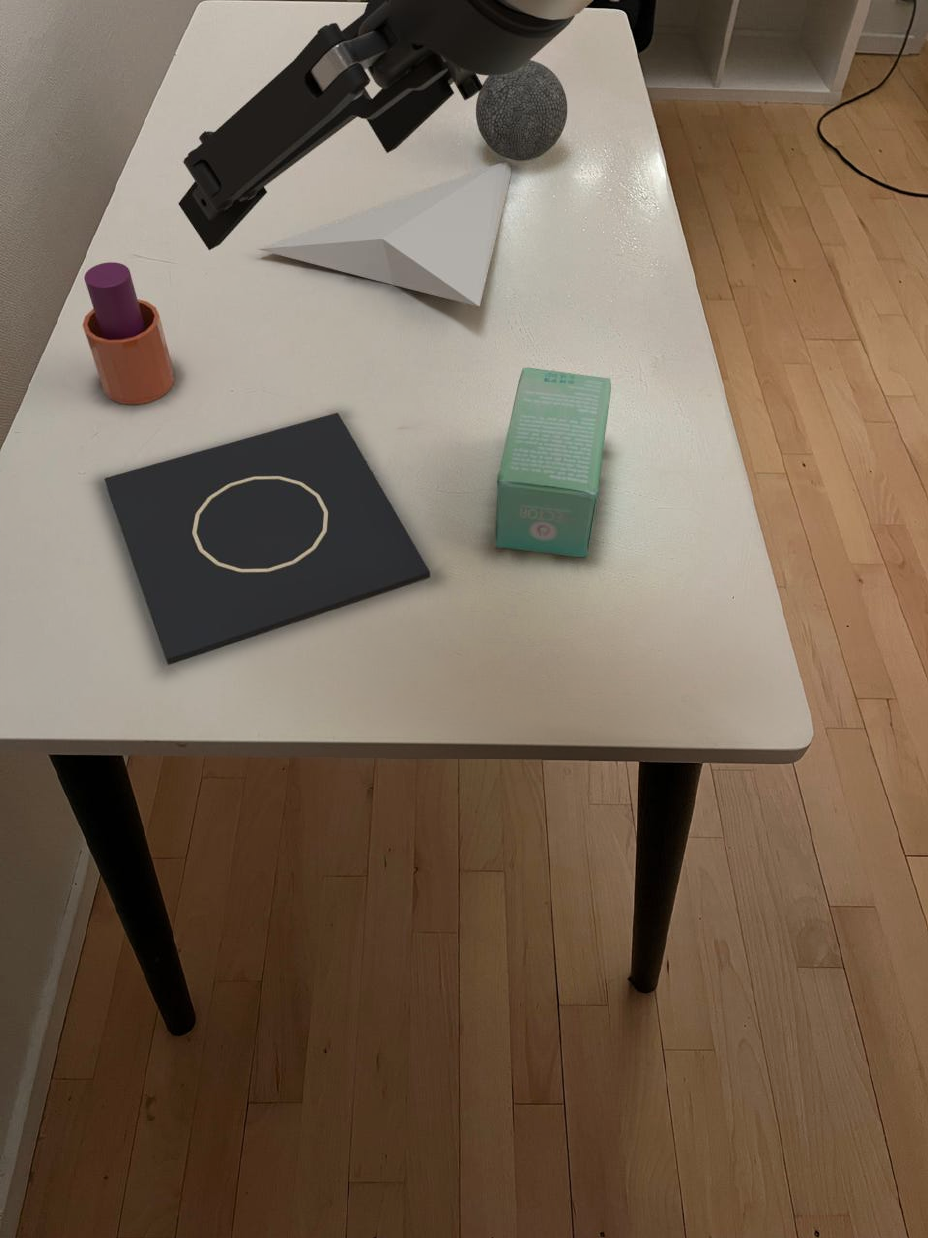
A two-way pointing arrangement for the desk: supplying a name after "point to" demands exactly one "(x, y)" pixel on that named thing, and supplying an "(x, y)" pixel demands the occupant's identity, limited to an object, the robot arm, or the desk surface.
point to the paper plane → (416, 238)
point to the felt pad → (260, 535)
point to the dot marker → (114, 301)
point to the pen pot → (132, 360)
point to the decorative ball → (522, 112)
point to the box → (552, 463)
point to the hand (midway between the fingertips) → (293, 174)
